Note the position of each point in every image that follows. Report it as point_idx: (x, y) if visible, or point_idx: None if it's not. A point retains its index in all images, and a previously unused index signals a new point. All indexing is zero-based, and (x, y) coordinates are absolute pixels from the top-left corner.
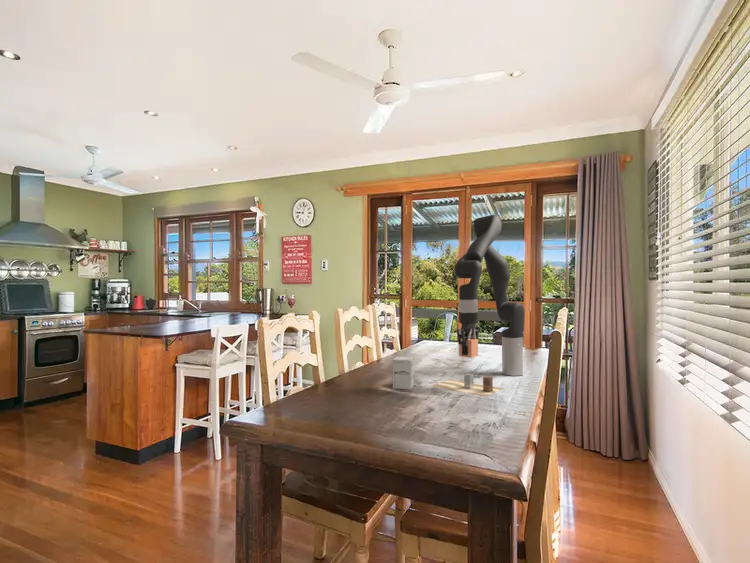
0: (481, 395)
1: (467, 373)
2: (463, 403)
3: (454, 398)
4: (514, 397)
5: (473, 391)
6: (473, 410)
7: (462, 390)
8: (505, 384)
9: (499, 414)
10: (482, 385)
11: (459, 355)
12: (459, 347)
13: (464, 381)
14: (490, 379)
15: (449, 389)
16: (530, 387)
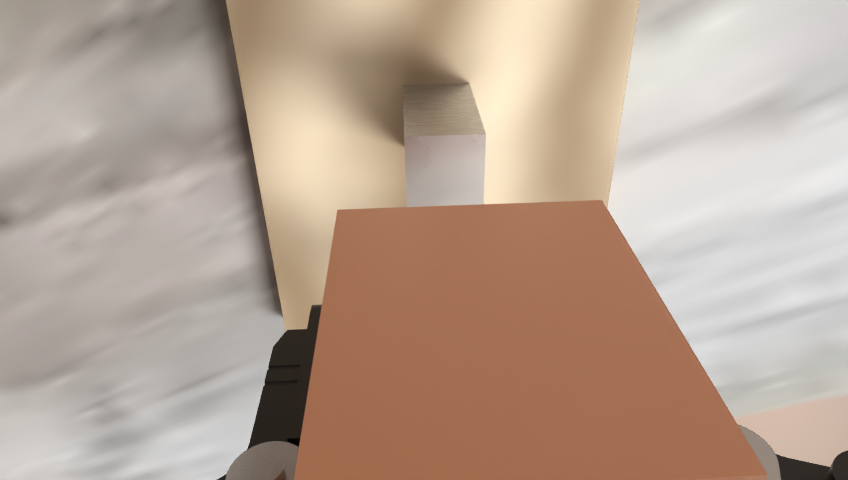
0: (285, 302)
1: (484, 135)
2: (82, 256)
3: (125, 140)
4: None
5: (345, 208)
6: (24, 363)
7: (301, 124)
8: (829, 227)
9: (101, 466)
10: (594, 166)
11: (336, 225)
12: (320, 327)
13: (403, 109)
14: None
15: (232, 4)
16: (801, 374)
